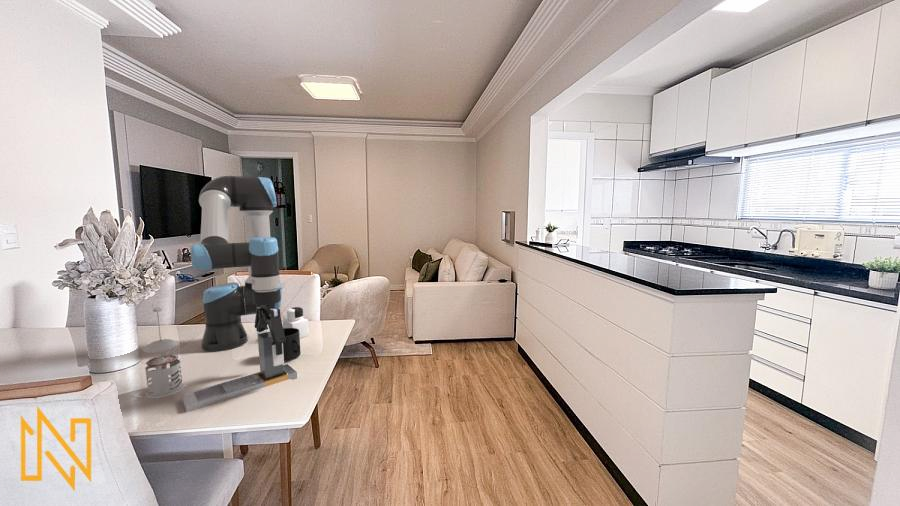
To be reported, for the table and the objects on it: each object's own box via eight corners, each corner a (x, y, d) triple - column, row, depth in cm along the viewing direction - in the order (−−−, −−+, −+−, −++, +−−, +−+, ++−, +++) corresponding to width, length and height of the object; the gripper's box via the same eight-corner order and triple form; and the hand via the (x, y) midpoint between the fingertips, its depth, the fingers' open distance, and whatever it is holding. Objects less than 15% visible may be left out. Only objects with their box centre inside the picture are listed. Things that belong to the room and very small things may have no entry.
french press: (137, 403, 96) (127, 314, 93) (153, 384, 106) (144, 303, 103) (181, 396, 100) (173, 309, 96) (192, 378, 110) (185, 299, 107)
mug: (288, 365, 119) (287, 339, 118) (265, 358, 124) (263, 334, 123) (311, 355, 127) (310, 331, 126) (288, 349, 133) (287, 326, 132)
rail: (181, 402, 96) (180, 395, 96) (287, 369, 116) (287, 363, 116) (186, 414, 91) (185, 406, 91) (297, 377, 110) (296, 371, 110)
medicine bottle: (299, 332, 151) (298, 305, 150) (309, 335, 147) (307, 307, 146) (283, 337, 145) (281, 308, 144) (293, 341, 141) (291, 311, 140)
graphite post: (260, 378, 109) (257, 334, 107) (277, 372, 112) (275, 330, 111) (266, 383, 105) (263, 338, 104) (283, 378, 109) (280, 334, 107)
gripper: (240, 284, 112) (245, 349, 114) (266, 299, 94) (271, 375, 97) (266, 281, 117) (270, 343, 119) (295, 294, 99) (299, 366, 102)
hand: (270, 357), depth 108 cm, fingers open, 13 cm apart
